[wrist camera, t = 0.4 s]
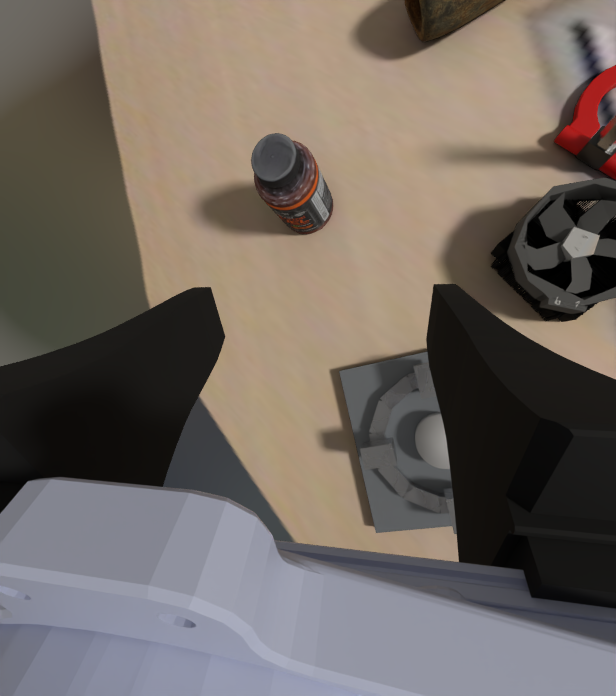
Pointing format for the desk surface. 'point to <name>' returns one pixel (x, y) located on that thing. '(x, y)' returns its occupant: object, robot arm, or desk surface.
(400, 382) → the ring nut
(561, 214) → the cpu cooler
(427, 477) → the cap plate
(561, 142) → the tow hook
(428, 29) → the brown hollow cylinder
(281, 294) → the desk surface
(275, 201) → the supplement bottle
